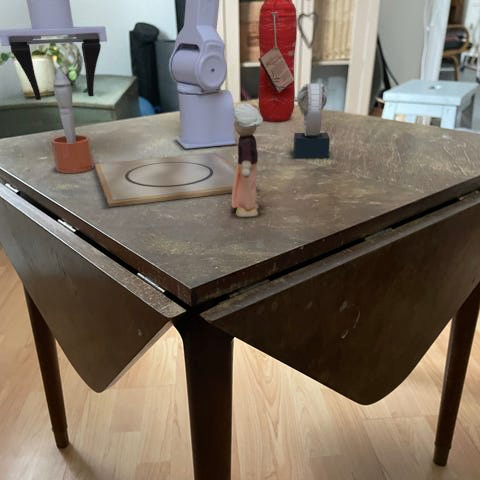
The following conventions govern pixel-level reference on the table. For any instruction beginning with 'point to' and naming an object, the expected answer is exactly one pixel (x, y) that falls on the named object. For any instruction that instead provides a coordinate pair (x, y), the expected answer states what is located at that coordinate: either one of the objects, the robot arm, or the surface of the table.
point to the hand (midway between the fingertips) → (65, 97)
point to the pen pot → (72, 154)
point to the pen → (65, 104)
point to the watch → (311, 123)
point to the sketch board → (165, 178)
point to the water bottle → (277, 59)
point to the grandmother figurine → (246, 161)
